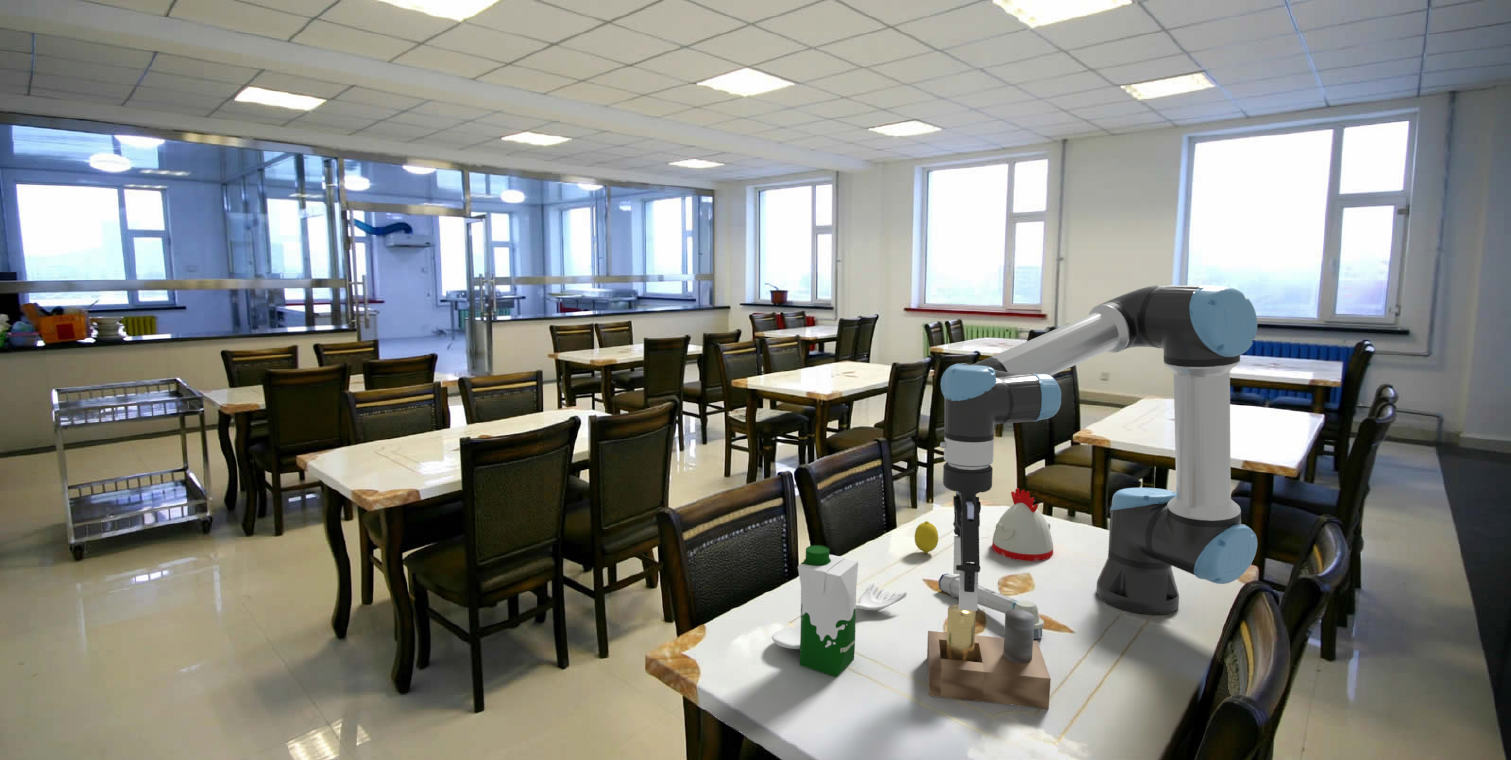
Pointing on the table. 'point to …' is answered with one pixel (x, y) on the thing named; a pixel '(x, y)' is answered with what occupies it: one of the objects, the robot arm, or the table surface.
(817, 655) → the milk carton
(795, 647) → the white spork
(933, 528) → the lemon
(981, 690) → the jig
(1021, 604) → the grey bent pipe
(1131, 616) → the table surface
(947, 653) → the gold cylinder
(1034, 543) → the kitchen timer
